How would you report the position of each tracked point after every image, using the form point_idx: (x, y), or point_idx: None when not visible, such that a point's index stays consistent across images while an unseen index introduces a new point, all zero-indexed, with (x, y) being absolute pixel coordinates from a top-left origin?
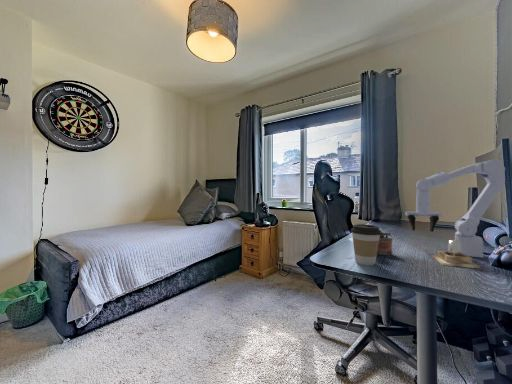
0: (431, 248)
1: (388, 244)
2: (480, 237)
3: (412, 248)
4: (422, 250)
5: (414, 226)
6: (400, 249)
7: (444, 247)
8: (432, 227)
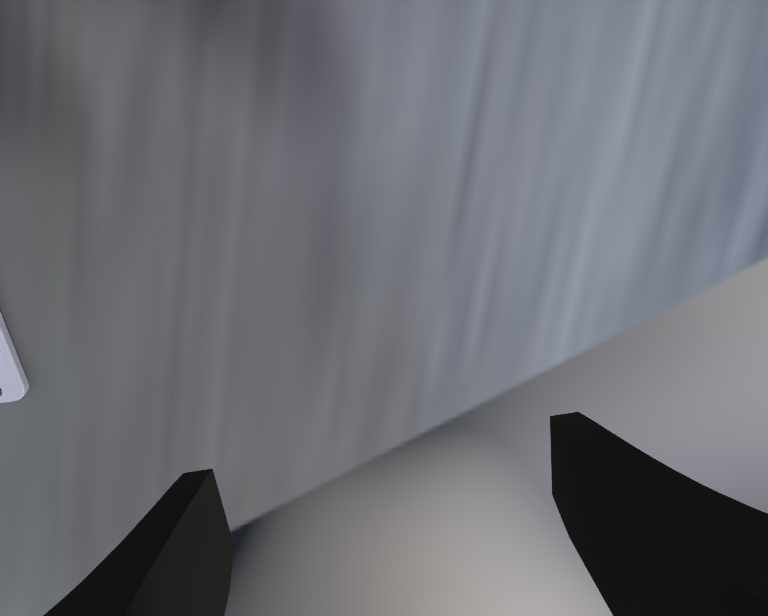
0: (241, 441)
1: None
2: None
3: (472, 320)
4: (365, 265)
5: (607, 454)
6: (644, 172)
7: (91, 570)
8: (169, 522)
